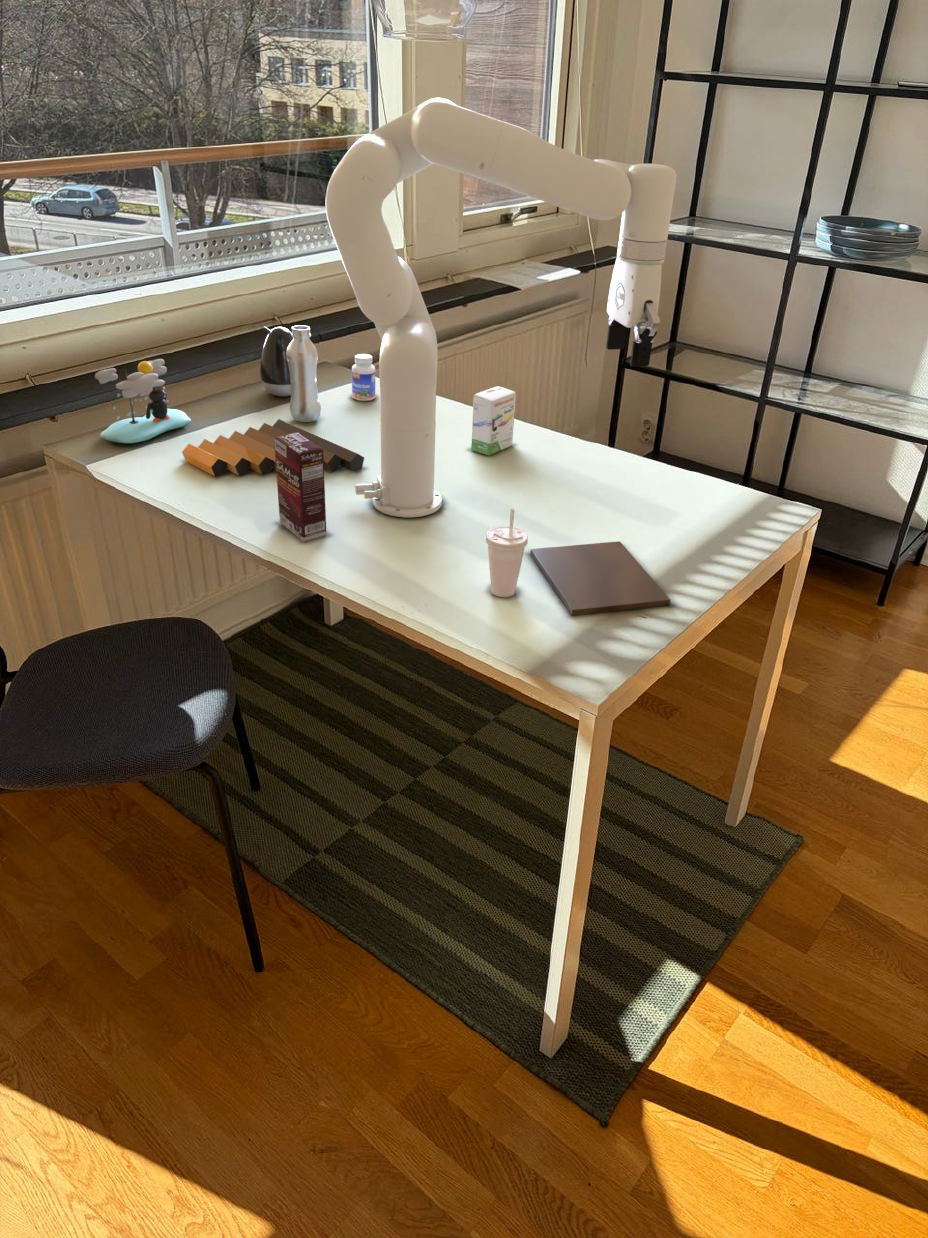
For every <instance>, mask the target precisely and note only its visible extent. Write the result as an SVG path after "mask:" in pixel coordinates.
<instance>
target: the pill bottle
mask: <svg viewBox="0 0 928 1238" xmlns="http://www.w3.org/2000/svg"><path fill="white" fill-rule="evenodd" d="M354 363H355V364H353V365H352V366H351V397H352V399H354V400H356V401H360V402H369V401H372V400H374V399H375V398H376V366H375V365H373V364H372V363H373V355H371V354H368V353H358V354H356V355H354Z"/></svg>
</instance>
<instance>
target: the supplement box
mask: <svg viewBox="0 0 928 1238" xmlns="http://www.w3.org/2000/svg"><path fill="white" fill-rule="evenodd" d="M274 445H275V459H276V469H275V471H276V473H275V474H276V483H277V484H276V485H277V486H276V487H277V488H276V489H277V500H278V502H277V503H278V516H279V524H280V525H282V526H283V527H284V528H286V529H287V530H289V531H290V532H291V533H293V535H295V536H296V537H297V538H298V539H300V540H301V541H302V542H303V543H304V542H307V541H311V540H315V539H318V538H322V537H325V536H327V533H328V532H327V515H326V514H327V513H326V512H327V511H326V489H325V487H326V486H325V485H326V484H325V469H324V458H323V449H322V448H321V447H318V446H317V445H315V444H314V443H312V442H311V441H309V440H308V439H306V438H305V437H303V436H302V435H300V434H299V433H298V432H296V433H291V434H286V435H282V436H278V437H275V438H274Z"/></svg>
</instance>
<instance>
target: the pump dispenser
mask: <svg viewBox="0 0 928 1238" xmlns="http://www.w3.org/2000/svg"><path fill="white" fill-rule="evenodd" d="M261 331H262V332H263V333H264V334H265V335H266V338H265V341H264V344H263V348H262V352H261V357H260V366H259V379H260V381H261V382H262V385H263V388H265V390H266V391H267V392H268V393H270V394H271V395H273V396H276V397H291V378H290V371H289V366H288V361H287V356H286V351H287V348H288V346H289V344H290V343H291V341H292V340H293V337H292V331H290V330H289V329H288V328H286V327H283V326H277V327H274V328H271V329H269V328H268V327H266V326H263V327H262V328H261Z"/></svg>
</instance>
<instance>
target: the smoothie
mask: <svg viewBox="0 0 928 1238" xmlns="http://www.w3.org/2000/svg"><path fill="white" fill-rule="evenodd" d="M509 511H510V512H509V513H510V514H509V525H508V526H507V525H506V526H505V525H503V526H496V527H493V528H491V529H489V530H487V531H486V534H485V539H484V540H485V543H486V544H487V552H488V553H487V554H488V566H489V567H488V569H489V578H490V580H489V581H490V591H491V593H492V595H493V596H496V597H498V598H499V597H500V598H509V597H512V596H514V595H515V594H516V590H517V585H518V581H519V576H520V571H521V567H522V562H523V557H524V552H525V548H526V547H527V546H528V543H529V542H528V541H529V535H528V533H527V532H526V531H525V530H523V529H520V528H518V527H514V519H515V508H510V510H509Z"/></svg>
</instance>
